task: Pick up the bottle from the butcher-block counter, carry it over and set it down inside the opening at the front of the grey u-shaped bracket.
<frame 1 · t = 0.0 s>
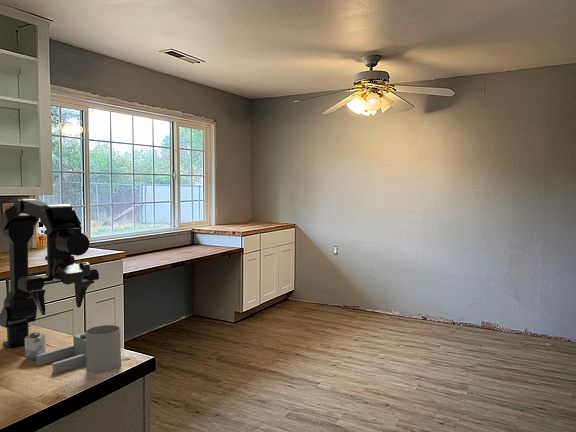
hand: (61, 311, 119), 15 cm above the counter, fingers open, 9 cm apart
bottle: (35, 357, 126), on the counter
grey u-shaped bracket: (61, 364, 121), on the counter
cup: (104, 367, 119), on the counter
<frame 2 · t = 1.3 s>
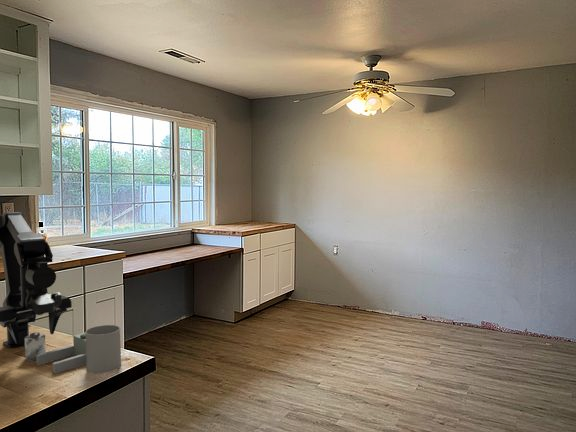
hand: (34, 338, 126), 5 cm above the counter, fingers open, 9 cm apart
nothing on the counter moved.
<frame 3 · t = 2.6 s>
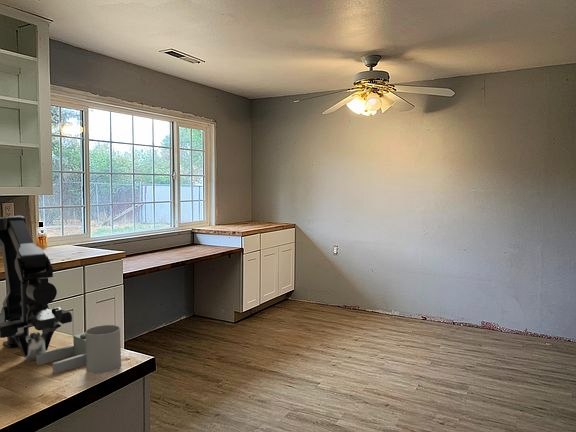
hand: (35, 353, 126), 1 cm above the counter, fingers closed on bottle, 5 cm apart
bottle: (35, 357, 126), on the counter, touching gripper
everything else where it was.
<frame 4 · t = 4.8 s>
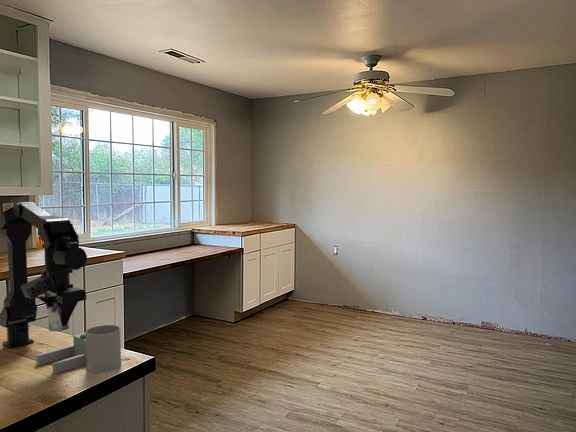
hand: (59, 323, 121), 11 cm above the counter, fingers closed on bottle, 5 cm apart
bottle: (59, 328, 121), point 10 cm above the counter, touching gripper
everything else where it was.
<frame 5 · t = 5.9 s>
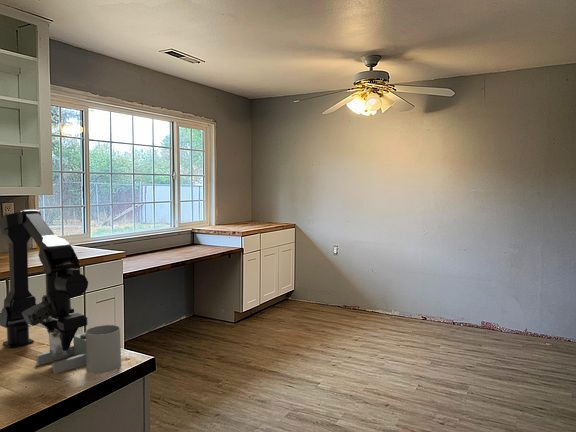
hand: (60, 348, 121), 4 cm above the counter, fingers closed on bottle, 5 cm apart
bottle: (60, 352, 121), point 3 cm above the counter, touching gripper
everything else where it was.
when the fingers open (3 cm above the counter, at t = 6.9 s): bottle drops 2 cm, on the counter.
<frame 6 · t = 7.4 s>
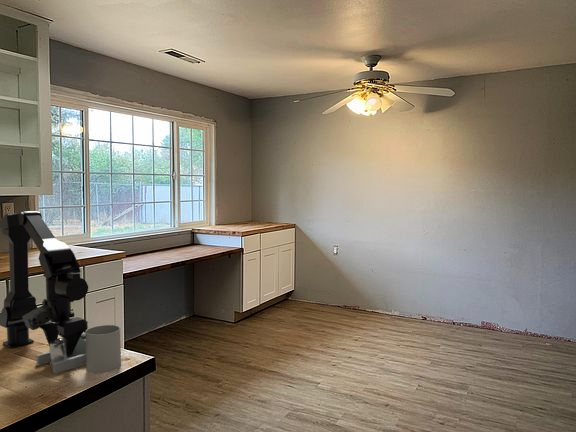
hand: (60, 352, 121), 3 cm above the counter, fingers open, 9 cm apart
bottle: (60, 364, 121), on the counter
everything else where it was.
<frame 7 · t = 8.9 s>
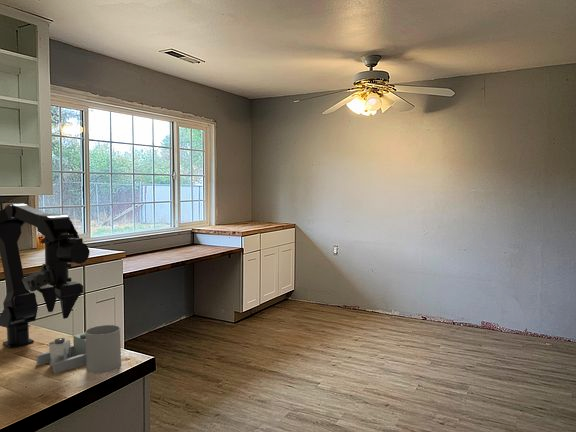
hand: (57, 315, 127), 11 cm above the counter, fingers open, 9 cm apart
nothing on the counter moved.
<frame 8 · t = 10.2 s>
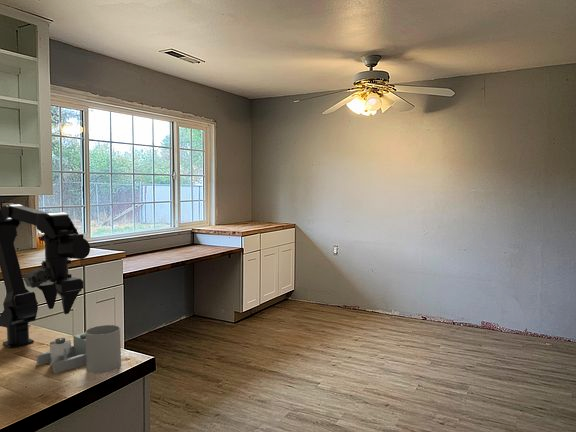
hand: (58, 311, 129), 12 cm above the counter, fingers open, 9 cm apart
nothing on the counter moved.
at the end: bottle inside the target area (0.9 cm from its centre), on the counter; bottle tilted 1°; the gripper is holding nothing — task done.
